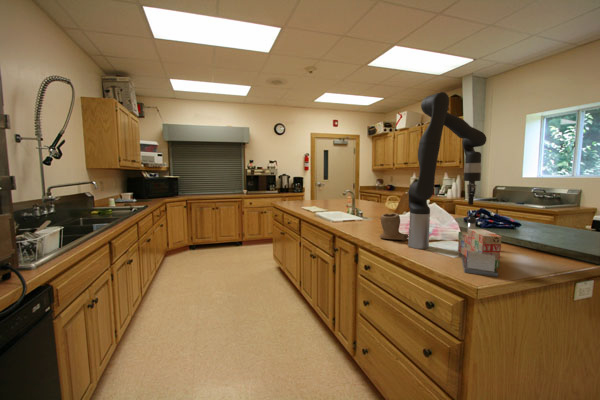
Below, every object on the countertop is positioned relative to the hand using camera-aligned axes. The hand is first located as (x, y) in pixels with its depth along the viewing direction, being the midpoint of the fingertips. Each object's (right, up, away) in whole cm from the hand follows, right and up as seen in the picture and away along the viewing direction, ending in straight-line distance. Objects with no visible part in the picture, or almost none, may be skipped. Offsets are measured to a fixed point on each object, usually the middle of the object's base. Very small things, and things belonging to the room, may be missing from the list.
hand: (470, 204), depth 138 cm
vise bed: (-17, -23, -29) cm, 41 cm away
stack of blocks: (-18, -22, -31) cm, 42 cm away
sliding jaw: (-7, -20, -12) cm, 24 cm away
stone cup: (-38, -20, +9) cm, 44 cm away
